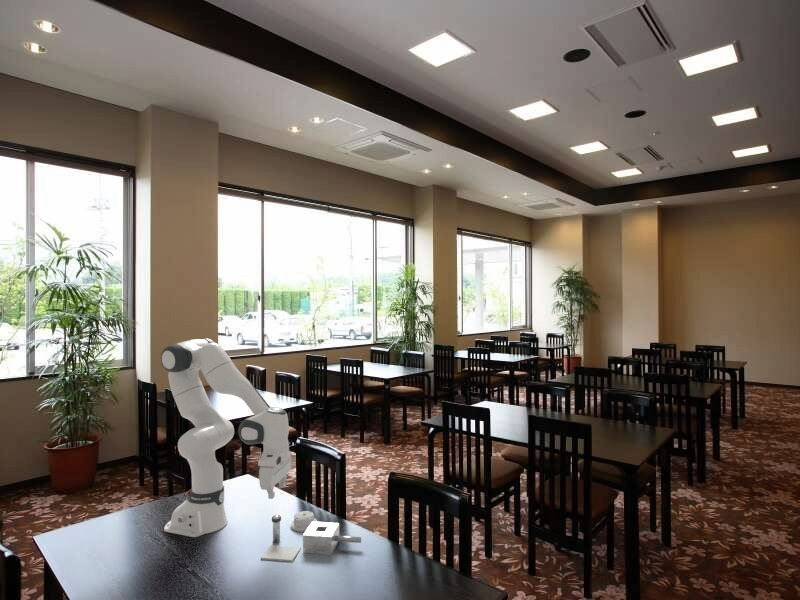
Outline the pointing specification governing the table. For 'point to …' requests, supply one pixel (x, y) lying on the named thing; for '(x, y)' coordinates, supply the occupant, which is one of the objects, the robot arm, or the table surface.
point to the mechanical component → (302, 521)
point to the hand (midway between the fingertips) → (277, 492)
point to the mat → (281, 553)
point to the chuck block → (324, 538)
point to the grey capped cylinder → (276, 528)
